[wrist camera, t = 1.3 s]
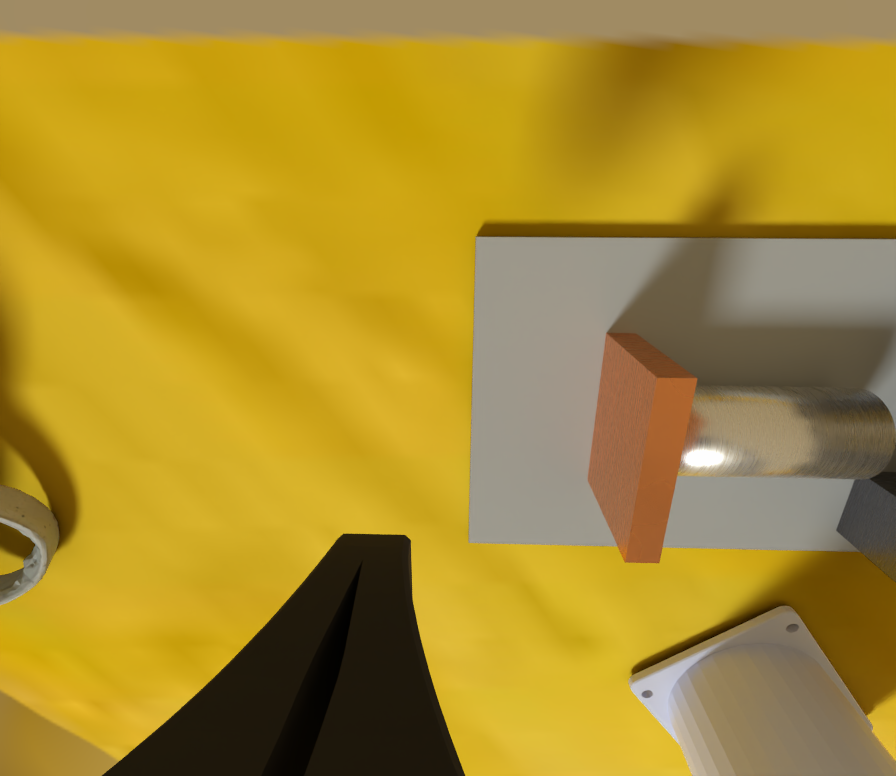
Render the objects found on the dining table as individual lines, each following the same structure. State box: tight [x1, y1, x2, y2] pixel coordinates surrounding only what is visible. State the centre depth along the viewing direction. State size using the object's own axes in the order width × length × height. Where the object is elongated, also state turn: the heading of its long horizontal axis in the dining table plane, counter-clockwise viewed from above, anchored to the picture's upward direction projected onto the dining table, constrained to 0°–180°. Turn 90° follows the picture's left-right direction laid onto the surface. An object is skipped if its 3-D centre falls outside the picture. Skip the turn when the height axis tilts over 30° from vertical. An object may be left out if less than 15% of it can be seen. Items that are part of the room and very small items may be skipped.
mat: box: [469, 236, 896, 552], centre depth 17 cm, size 22×12×1 cm, turn 90°
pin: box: [587, 333, 896, 563], centre depth 15 cm, size 8×6×4 cm
